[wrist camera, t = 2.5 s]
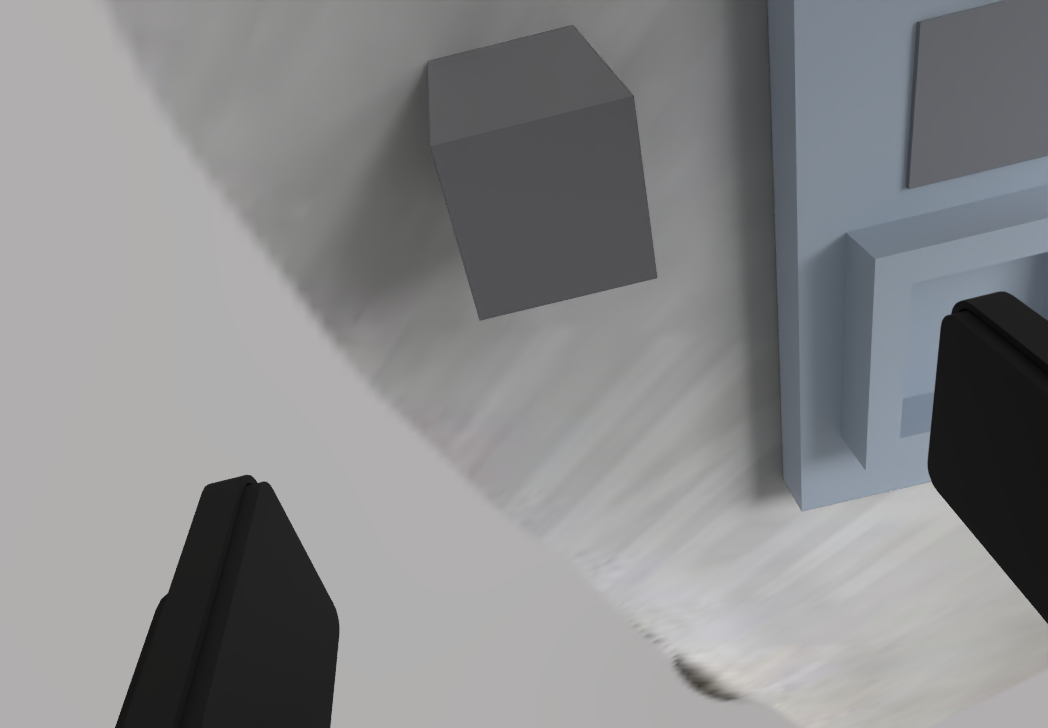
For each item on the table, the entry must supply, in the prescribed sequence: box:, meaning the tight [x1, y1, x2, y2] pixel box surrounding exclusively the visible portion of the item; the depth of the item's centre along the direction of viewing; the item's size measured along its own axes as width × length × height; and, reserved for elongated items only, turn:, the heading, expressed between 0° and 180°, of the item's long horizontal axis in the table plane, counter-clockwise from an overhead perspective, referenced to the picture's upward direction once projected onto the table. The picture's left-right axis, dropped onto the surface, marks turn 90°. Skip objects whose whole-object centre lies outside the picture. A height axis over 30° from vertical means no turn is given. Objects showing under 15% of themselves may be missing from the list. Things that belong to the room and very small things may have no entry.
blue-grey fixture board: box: [768, 0, 1048, 511], centre depth 26 cm, size 24×12×4 cm, turn 12°
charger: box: [428, 25, 657, 320], centre depth 21 cm, size 5×4×8 cm
